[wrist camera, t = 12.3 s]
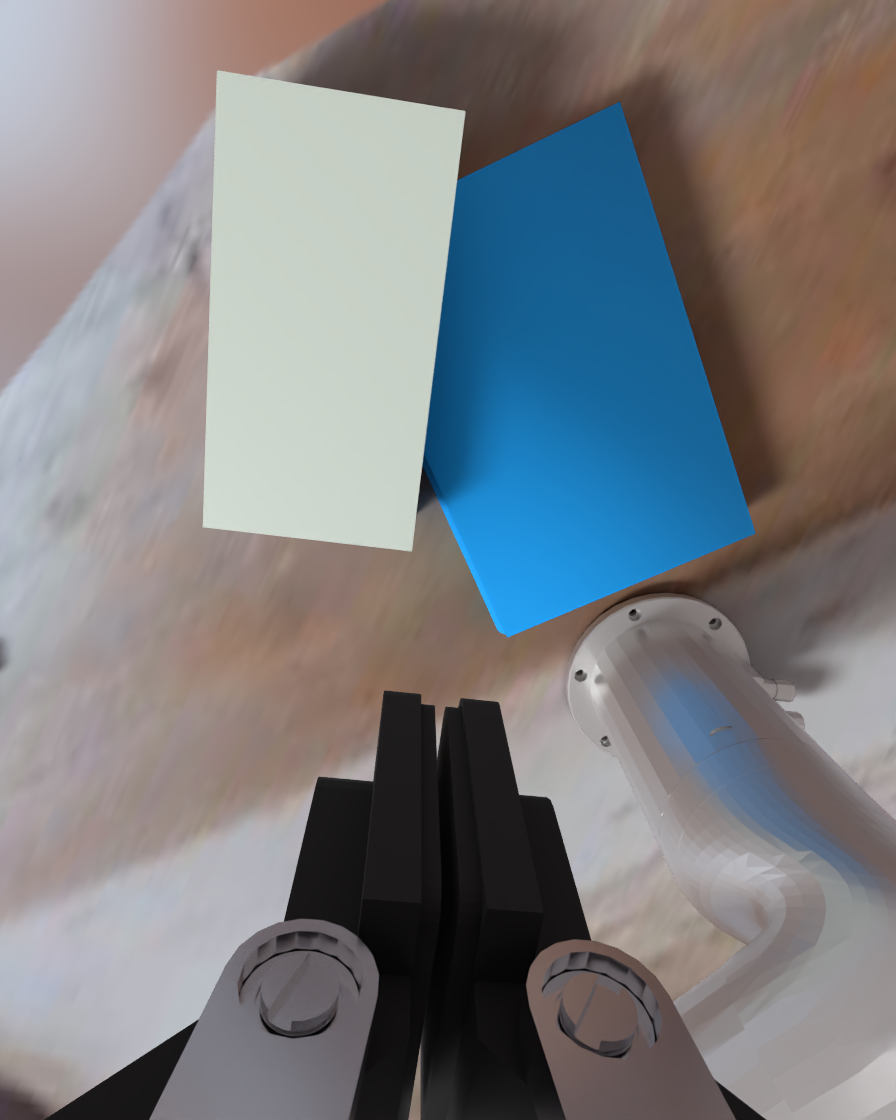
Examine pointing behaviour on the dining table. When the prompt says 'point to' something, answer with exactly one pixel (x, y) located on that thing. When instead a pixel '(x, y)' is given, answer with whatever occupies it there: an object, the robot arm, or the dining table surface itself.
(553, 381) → the book
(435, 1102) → the robot arm
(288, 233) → the shelf
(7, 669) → the dining table surface
